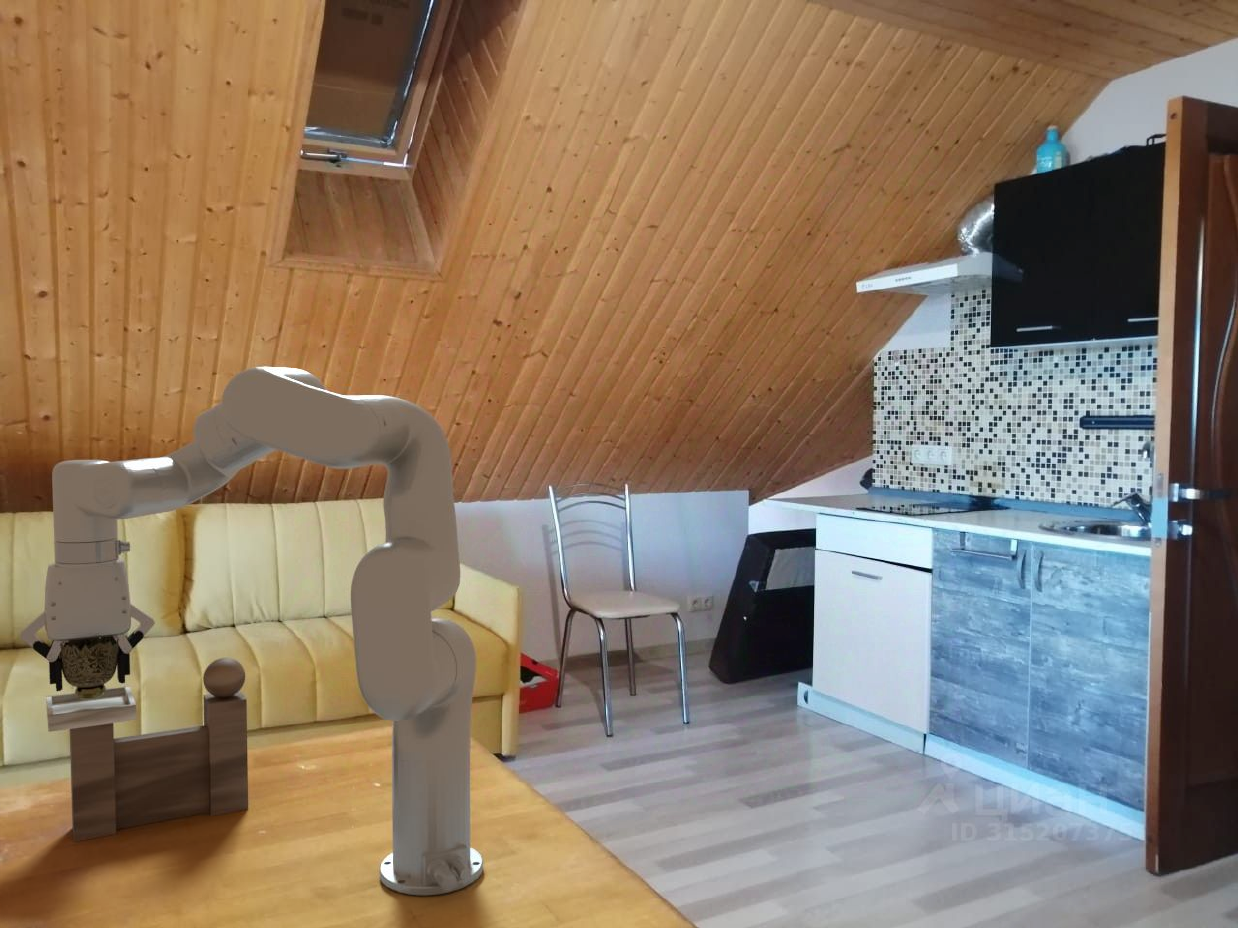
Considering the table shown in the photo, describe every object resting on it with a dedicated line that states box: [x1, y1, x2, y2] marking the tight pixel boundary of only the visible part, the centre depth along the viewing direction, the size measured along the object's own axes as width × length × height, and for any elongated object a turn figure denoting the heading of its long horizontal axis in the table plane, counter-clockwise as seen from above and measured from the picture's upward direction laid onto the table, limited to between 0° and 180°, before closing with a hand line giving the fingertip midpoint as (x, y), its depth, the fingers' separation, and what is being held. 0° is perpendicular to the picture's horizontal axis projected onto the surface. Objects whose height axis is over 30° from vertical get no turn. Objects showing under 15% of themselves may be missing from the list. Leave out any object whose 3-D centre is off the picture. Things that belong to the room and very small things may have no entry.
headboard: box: [45, 657, 249, 843], centre depth 141 cm, size 10×25×22 cm, turn 120°
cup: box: [59, 636, 119, 699], centre depth 137 cm, size 8×7×8 cm
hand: (90, 683), depth 137 cm, fingers closed on cup, 6 cm apart
